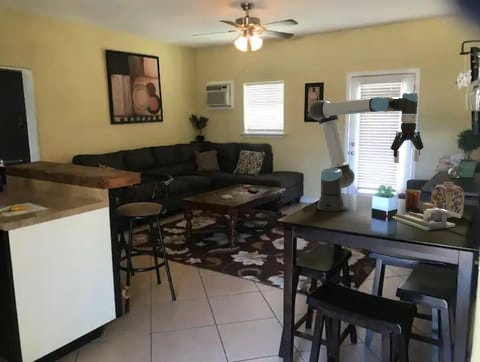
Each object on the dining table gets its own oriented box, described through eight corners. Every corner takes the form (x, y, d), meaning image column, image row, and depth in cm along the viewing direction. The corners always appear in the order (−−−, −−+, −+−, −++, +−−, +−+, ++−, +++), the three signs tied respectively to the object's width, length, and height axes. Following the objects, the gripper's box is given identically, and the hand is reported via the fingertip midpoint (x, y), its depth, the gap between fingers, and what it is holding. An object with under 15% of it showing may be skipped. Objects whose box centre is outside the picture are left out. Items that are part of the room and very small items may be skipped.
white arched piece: (411, 218, 197) (412, 204, 196) (426, 216, 201) (427, 202, 200) (445, 229, 178) (446, 213, 177) (462, 226, 181) (463, 211, 180)
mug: (402, 206, 231) (403, 189, 230) (417, 206, 230) (418, 189, 228) (407, 210, 220) (408, 193, 218) (423, 211, 218) (424, 193, 216)
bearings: (430, 222, 195) (430, 211, 194) (434, 221, 196) (435, 211, 195) (441, 226, 188) (442, 215, 187) (446, 225, 189) (447, 214, 188)
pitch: (392, 218, 203) (392, 213, 202) (418, 215, 209) (419, 210, 208) (426, 230, 181) (426, 225, 181) (455, 226, 187) (455, 221, 187)
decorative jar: (447, 218, 202) (450, 184, 199) (429, 213, 213) (431, 181, 210) (463, 215, 207) (466, 182, 204) (445, 211, 217) (447, 179, 215)
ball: (433, 223, 184) (430, 228, 186) (438, 222, 185) (435, 228, 187) (428, 219, 187) (425, 224, 188) (433, 218, 188) (431, 224, 189)
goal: (419, 226, 188) (420, 220, 187) (435, 224, 191) (436, 218, 190) (429, 230, 182) (430, 223, 182) (445, 227, 185) (446, 221, 185)
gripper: (394, 122, 197) (392, 164, 200) (432, 122, 205) (429, 161, 209) (384, 122, 204) (382, 162, 207) (421, 122, 212) (419, 160, 216)
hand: (406, 162), depth 208 cm, fingers open, 13 cm apart
